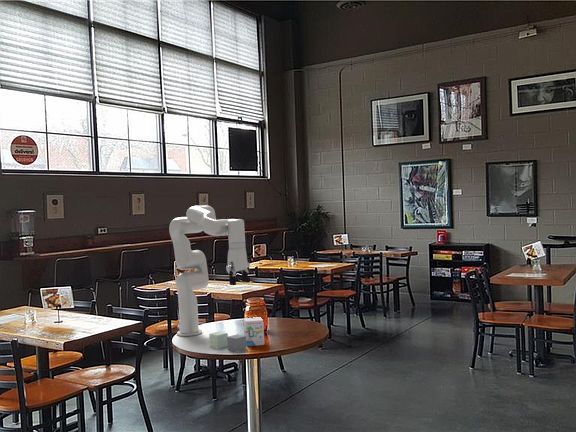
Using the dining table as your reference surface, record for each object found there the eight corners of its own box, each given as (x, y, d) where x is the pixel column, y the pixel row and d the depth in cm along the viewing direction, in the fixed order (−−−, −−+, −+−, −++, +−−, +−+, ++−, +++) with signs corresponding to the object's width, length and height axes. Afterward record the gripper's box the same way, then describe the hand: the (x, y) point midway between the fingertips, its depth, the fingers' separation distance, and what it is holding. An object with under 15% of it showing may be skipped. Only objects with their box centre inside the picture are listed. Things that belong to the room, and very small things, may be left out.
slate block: (227, 350, 258) (227, 336, 258) (238, 347, 262) (237, 334, 262) (236, 352, 254) (235, 338, 254) (246, 349, 258) (245, 336, 258)
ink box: (246, 346, 263) (245, 321, 263) (244, 342, 271) (243, 317, 271) (264, 344, 265) (263, 319, 264) (262, 340, 273) (260, 316, 273)
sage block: (209, 346, 266) (209, 333, 266) (220, 344, 270) (219, 331, 270) (217, 348, 262) (217, 335, 262) (228, 345, 266) (227, 333, 266)
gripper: (241, 244, 272) (243, 280, 272) (219, 247, 257) (221, 286, 257) (254, 244, 268) (256, 281, 268) (232, 247, 253) (235, 286, 253)
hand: (239, 283), depth 263 cm, fingers open, 9 cm apart
